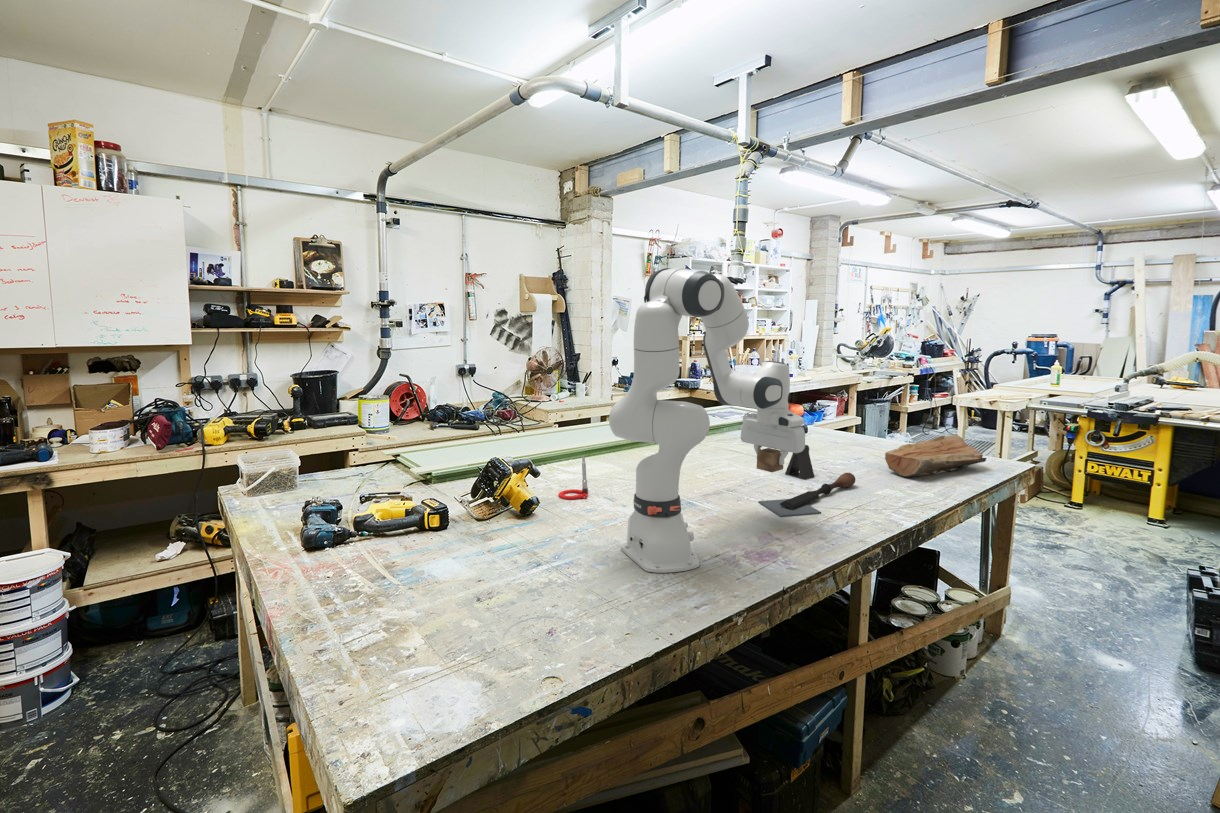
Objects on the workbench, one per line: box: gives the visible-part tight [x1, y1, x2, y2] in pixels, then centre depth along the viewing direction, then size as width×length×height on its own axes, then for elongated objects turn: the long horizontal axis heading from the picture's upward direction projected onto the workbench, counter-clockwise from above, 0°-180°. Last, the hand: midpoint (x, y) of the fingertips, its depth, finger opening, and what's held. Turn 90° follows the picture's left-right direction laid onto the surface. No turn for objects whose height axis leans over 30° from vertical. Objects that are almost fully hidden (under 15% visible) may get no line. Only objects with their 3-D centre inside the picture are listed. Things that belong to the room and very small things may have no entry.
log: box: [884, 434, 987, 478], centre depth 224 cm, size 42×17×15 cm, turn 113°
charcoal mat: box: [757, 498, 822, 518], centre depth 180 cm, size 14×14×1 cm
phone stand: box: [784, 444, 815, 481], centre depth 217 cm, size 9×6×12 cm, turn 34°
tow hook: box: [558, 455, 589, 500], centre depth 191 cm, size 9×14×10 cm
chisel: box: [780, 472, 856, 509], centre depth 192 cm, size 5×43×5 cm, turn 131°
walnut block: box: [756, 447, 784, 473], centre depth 168 cm, size 6×6×6 cm
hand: (770, 461), depth 168 cm, fingers closed on walnut block, 5 cm apart
